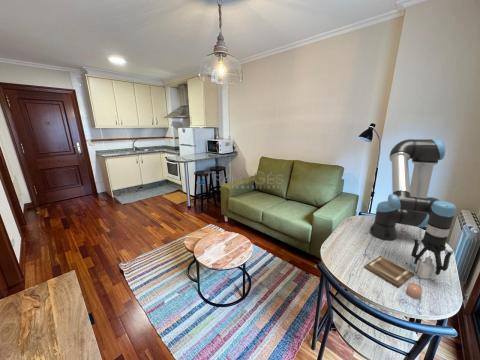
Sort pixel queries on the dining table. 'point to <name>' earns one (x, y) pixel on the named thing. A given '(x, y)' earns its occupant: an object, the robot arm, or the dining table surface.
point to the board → (389, 271)
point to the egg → (414, 290)
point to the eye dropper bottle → (426, 268)
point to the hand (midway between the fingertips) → (424, 274)
